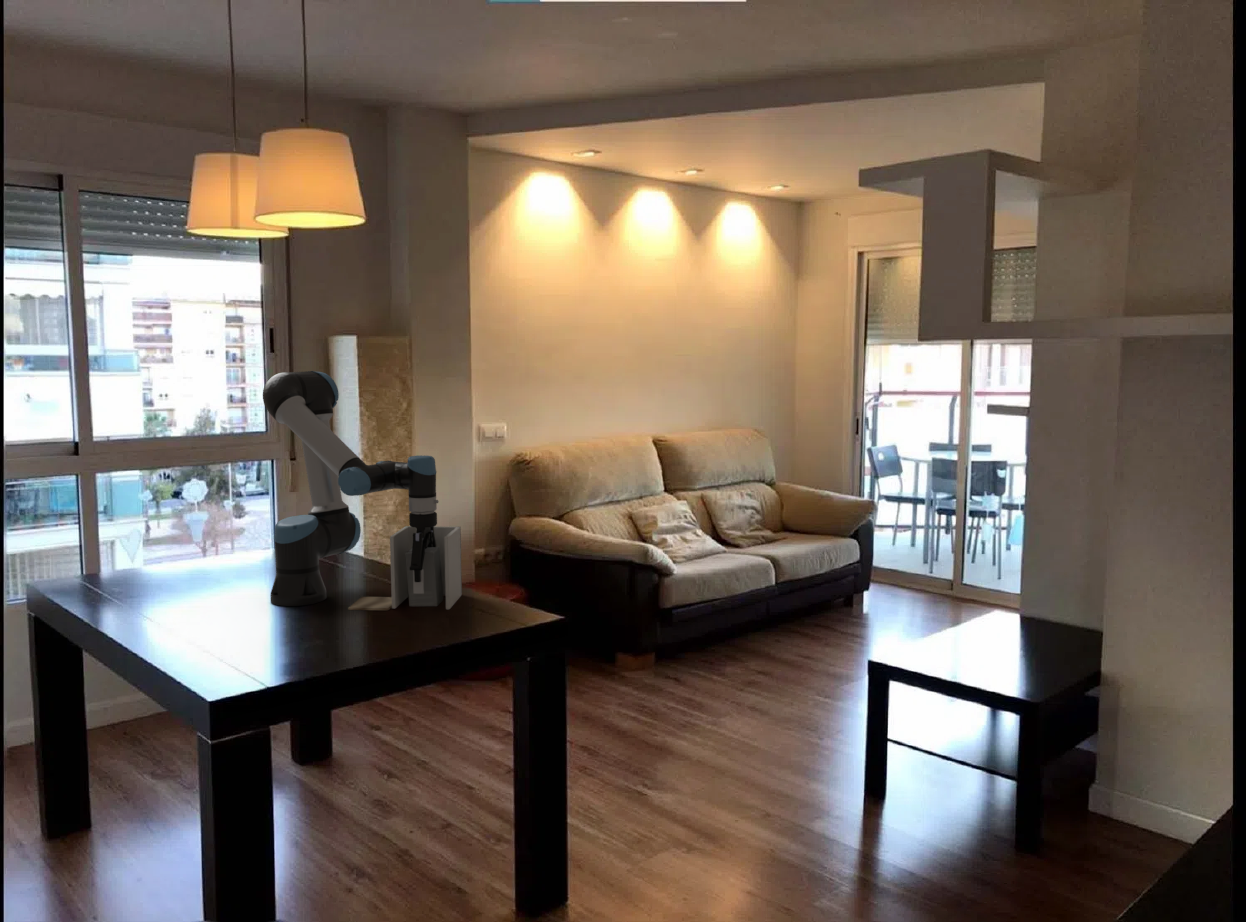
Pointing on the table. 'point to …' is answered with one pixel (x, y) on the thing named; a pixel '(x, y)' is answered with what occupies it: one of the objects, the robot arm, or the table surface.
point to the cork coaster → (372, 603)
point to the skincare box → (426, 579)
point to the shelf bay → (449, 557)
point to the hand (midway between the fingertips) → (425, 587)
